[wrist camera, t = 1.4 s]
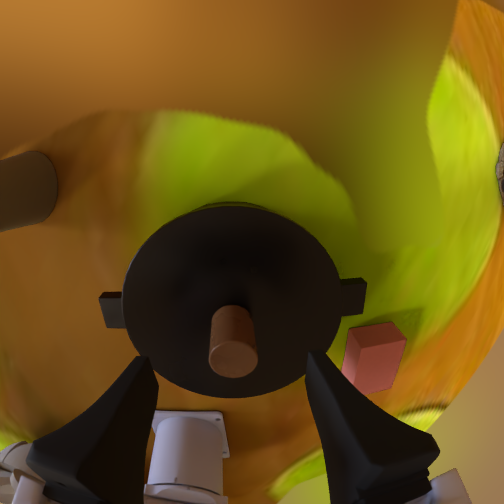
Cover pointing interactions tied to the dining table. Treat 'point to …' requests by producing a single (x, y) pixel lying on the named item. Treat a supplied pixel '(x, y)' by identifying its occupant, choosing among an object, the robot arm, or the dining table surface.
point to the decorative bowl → (14, 470)
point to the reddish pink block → (373, 356)
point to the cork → (26, 190)
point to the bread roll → (501, 172)
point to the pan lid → (231, 300)
